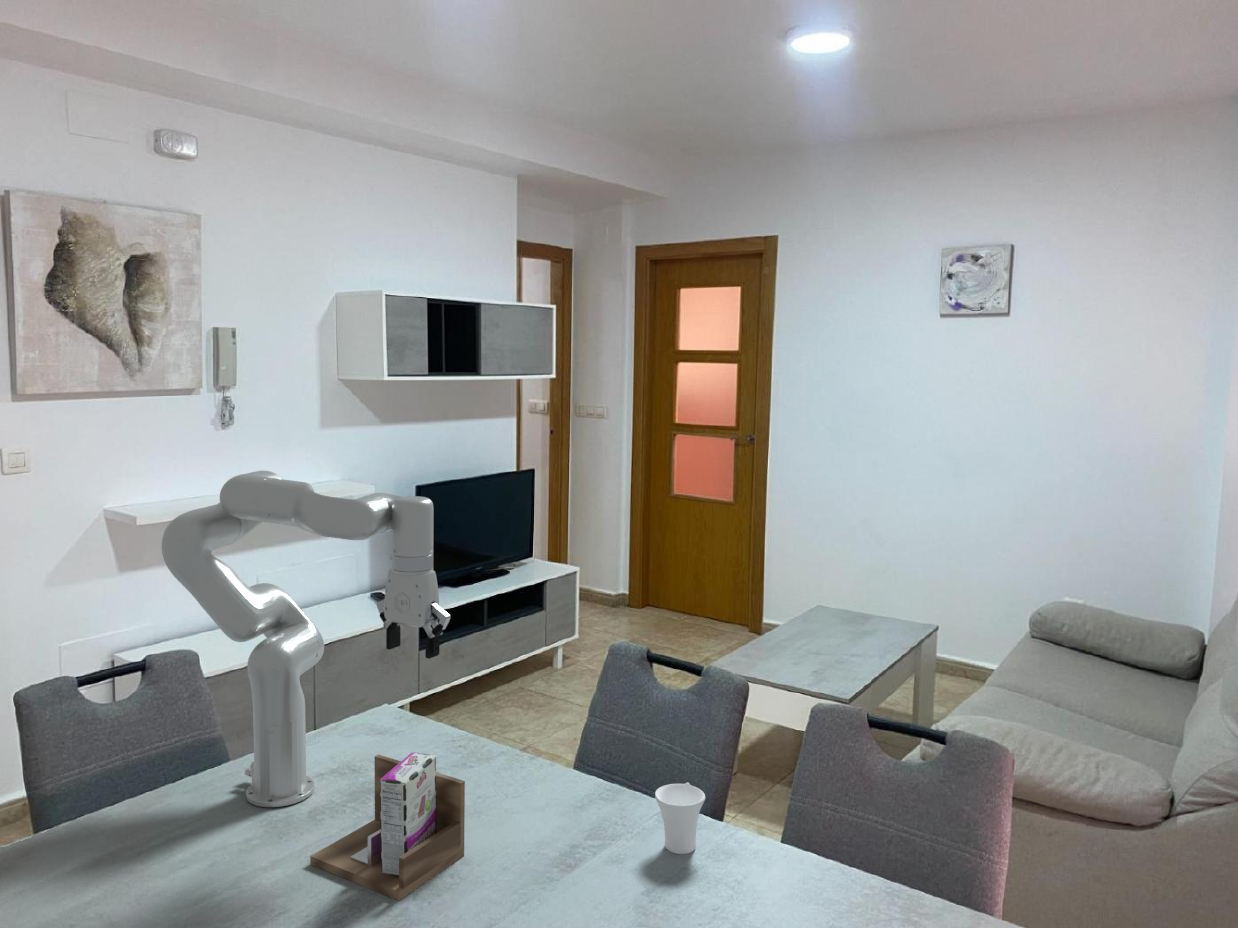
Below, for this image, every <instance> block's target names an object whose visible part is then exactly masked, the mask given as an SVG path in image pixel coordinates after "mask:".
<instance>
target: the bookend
mask: <svg viewBox="0 0 1238 928" xmlns="http://www.w3.org/2000/svg"><path fill="white" fill-rule="evenodd" d="M350 859H353V860H355V861H358V862H360V863H363V864H365V865H368V866H371V867H372V866H373V865H375V864H376V863H378V862H380V861H381V829H380V830H378V831H377V832H375V833H373V834H371V835H370V836H368V847H366V848H364V849H363V850H361V851H359V852H358V853H356V854H354V855H352V856H351V857H350Z"/></svg>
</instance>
